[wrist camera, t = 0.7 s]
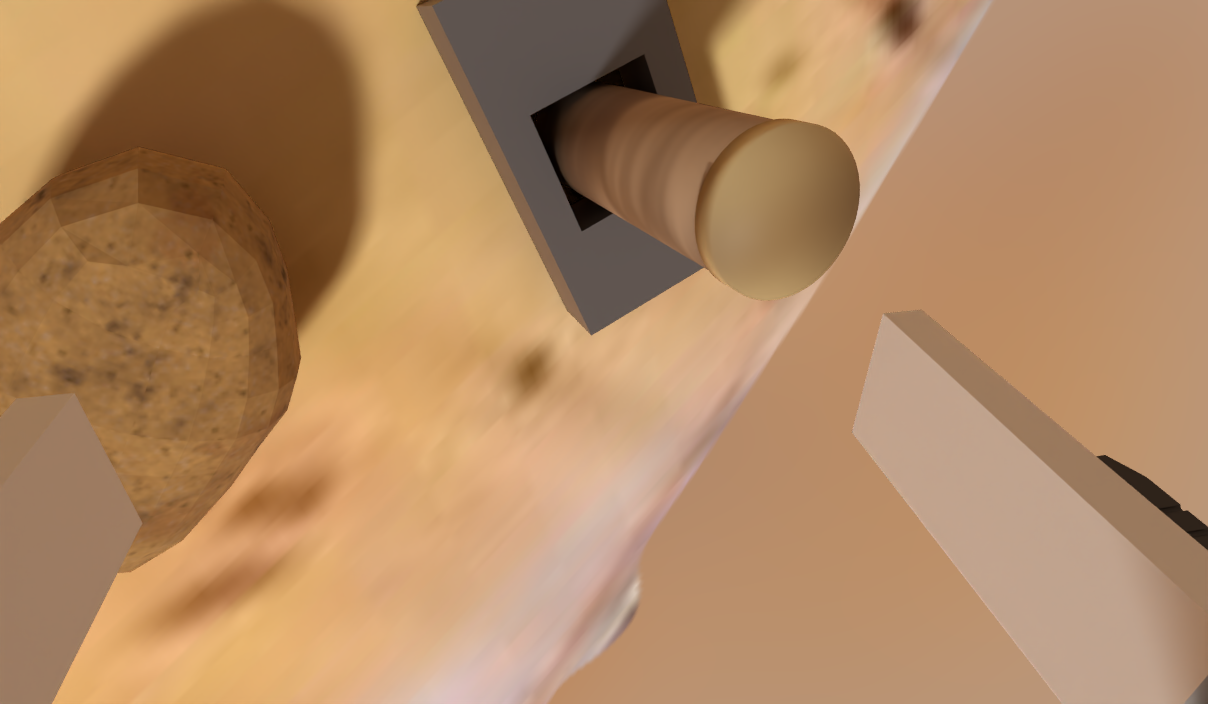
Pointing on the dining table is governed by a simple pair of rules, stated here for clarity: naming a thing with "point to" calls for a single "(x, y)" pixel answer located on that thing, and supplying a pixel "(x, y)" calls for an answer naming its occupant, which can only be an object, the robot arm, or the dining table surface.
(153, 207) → the potato
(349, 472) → the dining table surface
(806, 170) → the plug
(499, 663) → the dining table surface
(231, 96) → the dining table surface
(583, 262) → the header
